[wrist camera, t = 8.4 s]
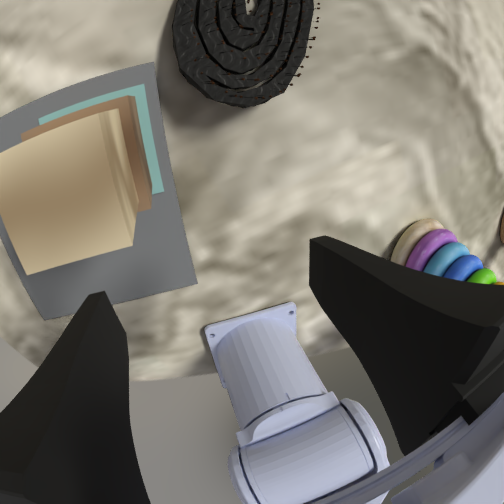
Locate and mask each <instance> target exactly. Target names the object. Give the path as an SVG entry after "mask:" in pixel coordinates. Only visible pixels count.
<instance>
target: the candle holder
mask: <svg viewBox="0 0 504 504" xmlns="http://www.w3.org/2000/svg"><path fill="white" fill-rule="evenodd" d="M500 238H501V241H502V243H503V244H504V213H503V217H502V222H501V228H500Z"/></svg>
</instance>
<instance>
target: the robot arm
mask: <svg viewBox="0 0 504 504" xmlns="http://www.w3.org/2000/svg"><path fill="white" fill-rule="evenodd" d="M309 286H310V288H311V290H312V292H313V293H314V295H315V297H316V299H317V301H318V302H319V304H320V306H321V308H322V309H323V310H324V312H325V313H326V314H327V316H328V317H329V319H330V320H331V321H332V323H333V324H334V325H335V327H336V328H337V329H338V331H339V332H340V333H341V335H342V336H343V337H344V339H345V340H346V341H347V343H348V344H349V345H350V347H351V348H352V349H353V351H354V352H355V354H356V355H357V357H358V358H359V360H360V362H361V363H362V365H363V367H364V369H365V371H366V372H367V374H368V376H369V378H370V380H371V382H372V384H373V385H374V388H375V390H376V392H377V394H378V396H379V398H380V400H381V402H382V404H383V406H384V408H385V411H386V413H387V415H388V417H389V420H390V422H391V425H392V427H393V430H394V432H395V435H396V438H397V441H398V444H399V447H400V449H401V451H402V453H403V454H404V456H405V457H403V458H402V459H400V460H399V461H397V462H395V463H394V464H392V465H389V462H388V459H387V452H386V447H385V444H384V442H383V439H382V437H381V435H380V433H379V431H378V429H377V427H376V425H375V423H374V422H373V420H372V418H371V417H370V416H369V414H368V413H367V411H366V410H365V409H364V408H363V406H362V405H361V404H359V403H358V402H357V401H353V400H350V399H348V398H344V399H342V400H340V401H338V400H337V398H336V396H335V394H334V393H333V392H332V391H331V392H329V393H328V392H327V390H326V389H325V387H324V385H323V384H322V382H321V380H320V378H319V377H318V375H317V373H316V371H315V370H314V368H313V366H312V364H311V363H310V361H309V359H308V358H307V356H306V354H305V352H304V351H303V349H302V347H301V345H300V344H299V342H298V340H297V339H296V305H295V304H294V303H293V302H288V303H285V304H282V305H278V306H275V307H271V308H268V309H265V310H261V311H258V312H254V313H251V314H247V315H244V316H240V317H236V318H233V319H229V320H225V321H222V322H218V323H214V324H210V325H207V326H206V327H205V329H204V331H205V334H206V338H207V341H208V344H209V347H210V350H211V353H212V356H213V359H214V362H215V366H216V369H217V371H218V374H219V377H220V380H221V383H222V386H223V388H227V390H228V393H229V396H230V400H231V403H232V406H233V409H234V412H235V415H236V418H237V420H238V424H239V427H240V429H241V431H239V432H237V433H236V436H237V440H238V442H239V445H236V446H234V447H232V449H231V452H230V455H229V457H228V470H229V474H230V478H231V481H232V484H233V486H234V489H235V491H236V493H237V495H238V497H239V498H240V500H241V502H242V503H243V504H381V503H382V501H383V500H384V498H385V497H386V495H387V493H388V492H389V490H391V489H392V488H394V487H396V486H397V485H399V484H401V483H402V482H404V481H405V480H407V479H408V478H410V477H411V476H413V475H414V474H416V473H417V472H419V471H420V470H422V469H423V468H425V467H426V466H428V465H429V464H430V463H432V462H433V461H435V463H434V469H433V470H432V472H430V473H429V474H427V475H426V476H424V477H423V478H421V479H420V480H418V481H417V482H415V483H414V484H412V485H411V486H409V487H408V488H406V489H405V490H403V491H401V492H400V493H398V494H397V495H395V496H393V497H392V498H391V501H392V503H393V504H502V503H503V502H504V285H496V284H482V283H474V282H466V281H460V280H455V279H450V278H445V277H440V276H436V275H432V274H429V273H425V272H422V271H418V270H415V269H411V268H408V267H405V266H402V265H400V264H397V263H394V262H392V261H389V260H386V259H384V258H381V257H378V256H376V255H374V254H371V253H369V252H366V251H364V250H361V249H359V248H357V247H354V246H352V245H349V244H347V243H345V242H342V241H340V240H337V239H334V238H331V237H328V236H321V237H317V238H313V239H310V263H309ZM290 311H291V312H290ZM210 334H212V335H210ZM0 504H151V503H150V500H149V498H148V495H147V492H146V489H145V486H144V483H143V479H142V476H141V472H140V469H139V465H138V461H137V457H136V452H135V448H134V443H133V437H132V432H131V426H130V415H129V356H128V346H127V337H126V332H125V330H124V328H123V327H122V325H121V323H120V321H119V319H118V317H117V315H116V313H115V311H114V309H113V307H112V305H111V303H110V301H109V298H108V296H107V294H106V292H105V291H101V292H97V293H93V294H89V295H88V297H87V298H86V299H85V300H84V302H83V303H82V305H81V306H80V308H79V309H78V311H77V312H76V314H75V315H74V317H73V318H72V320H71V321H70V323H69V324H68V326H67V327H66V329H65V330H64V332H63V334H62V335H61V337H60V338H59V340H58V341H57V342H56V344H55V345H54V347H53V348H52V350H51V351H50V353H49V354H48V356H47V357H46V359H45V360H44V362H43V363H42V364H41V366H40V367H39V368H38V370H37V371H36V372H35V374H34V375H33V376H32V377H31V379H30V380H29V381H28V383H27V384H26V385H25V386H24V387H23V389H22V390H21V391H20V392H19V393H18V394H17V395H16V397H15V398H14V399H13V400H12V401H11V402H10V404H9V405H8V406H7V407H6V408H5V409H4V410H3V411H2V412H1V413H0Z"/></svg>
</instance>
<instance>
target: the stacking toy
mask: <svg viewBox="0 0 504 504" xmlns="http://www.w3.org/2000/svg"><path fill="white" fill-rule="evenodd" d="M391 261H392V262H394V263H397V264H400V265H402V266H405V267H408V268H411V269H415V270H418V271H422V272H425V273H429V274H432V275H436V276H440V277H445V278H450V279H455V280H460V281H466V282H474V283H482V284H496V285H504V283H503V282H496V276H495V274H494V272H493V271H491V270H490V269H487V268H483V265H482V262H481V261H480V259H479V258H478V257H476V256H474V255H470V253H469V251H468V249H467V247H466V246H465V245H463V244H462V243H459V242H458V241H457V239H456V237H455V235H454V234H453V233H452V232H451V231H449V230H447V229H444V228H443V226H442V225H441V224H440V223H439V222H438V221H436V220H434V219H423V220H419V221H417V222H416V223H414V224H413V225H411V226H410V227H409V228H408V229H407V230H406V231H405V232H404V233H403V235H402V236H401V237H400V239H399V241H398V242H397V244H396V246H395V248H394V251H393V253H392V256H391Z"/></svg>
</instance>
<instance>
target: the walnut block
mask: <svg viewBox="0 0 504 504" xmlns="http://www.w3.org/2000/svg"><path fill="white" fill-rule="evenodd" d="M113 109H119V114H120V120H121V125H122V130H123V135H124V140H125V145H126V150H127V154H128V159H129V163H130V167H131V172H132V176H133V180H134V184H135V188H136V192H137V196H138V200H139V203H138V209H137V212H141V211H144V210H148V209H151V204H152V181H151V176H150V172H149V167H148V163H147V158H146V153H145V148H144V143H143V138H142V133H141V128H140V122H139V117H138V111H137V105H136V99H135V96H129V95H127V96H123V97H119V98H116V99H112V100H109V101H106V102H102V103H99V104H96V105H93V106H90V107H87V108H84V109H81V110H78V111H75V112H72V113H70V114H67V115H64V116H62V117H59V118H57V119H54V120H52V121H49V122H47V123H44V124H42V125H39V126H37V127H35V128H33V129H30V130H28V131H26V132H24V133H22V134H21V139H22V142H24V141H26V140H29V139H31V138H33V137H35V136H38V135H40V134H42V133H45V132H47V131H50V130H52V129H55V128H57V127H60V126H63V125H65V124H68V123H71V122H73V121H76V120H79V119H82V118H85V117H88V116H91V115H94V114H97V113H101V112H105V111H109V110H113Z"/></svg>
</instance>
